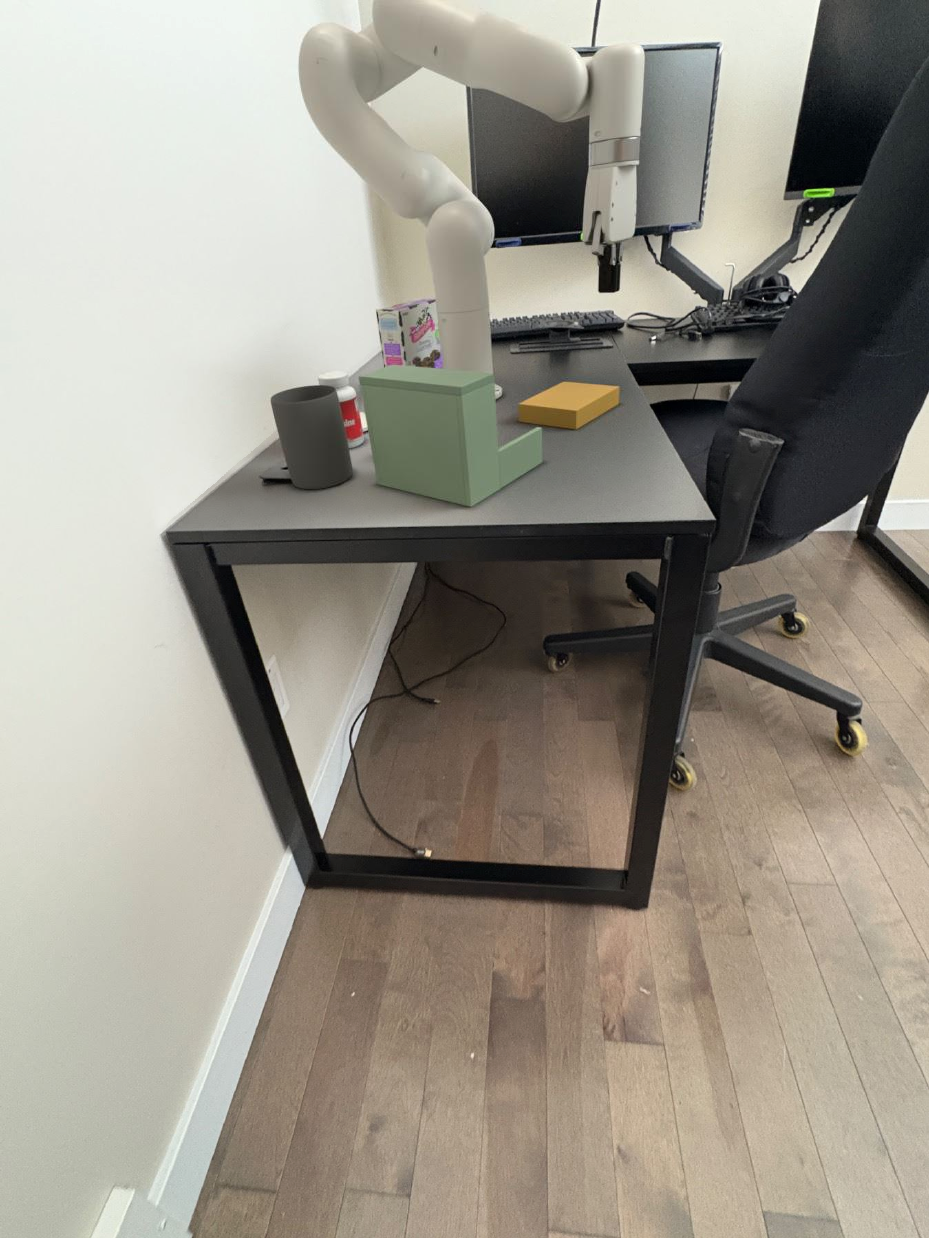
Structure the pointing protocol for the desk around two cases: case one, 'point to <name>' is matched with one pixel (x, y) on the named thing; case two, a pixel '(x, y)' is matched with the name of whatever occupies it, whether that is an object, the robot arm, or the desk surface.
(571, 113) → the robot arm
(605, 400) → the orange flat block
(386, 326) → the candy box
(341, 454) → the mug
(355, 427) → the pill bottle
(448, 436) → the green block
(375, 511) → the desk surface
